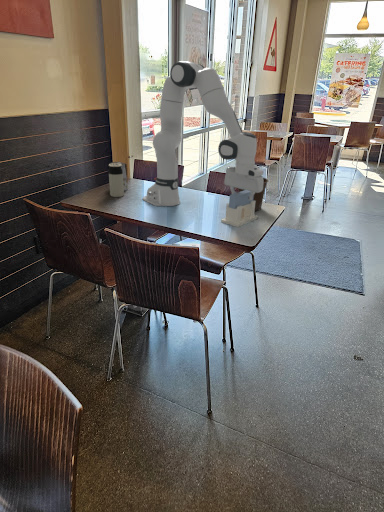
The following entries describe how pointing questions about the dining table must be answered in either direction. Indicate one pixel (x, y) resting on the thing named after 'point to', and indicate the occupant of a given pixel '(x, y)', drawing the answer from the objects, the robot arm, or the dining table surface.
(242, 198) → the blue-grey block
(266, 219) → the dining table surface
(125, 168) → the coffee box
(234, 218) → the display stand
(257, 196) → the plant pot
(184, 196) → the dining table surface
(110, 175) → the travel mug
